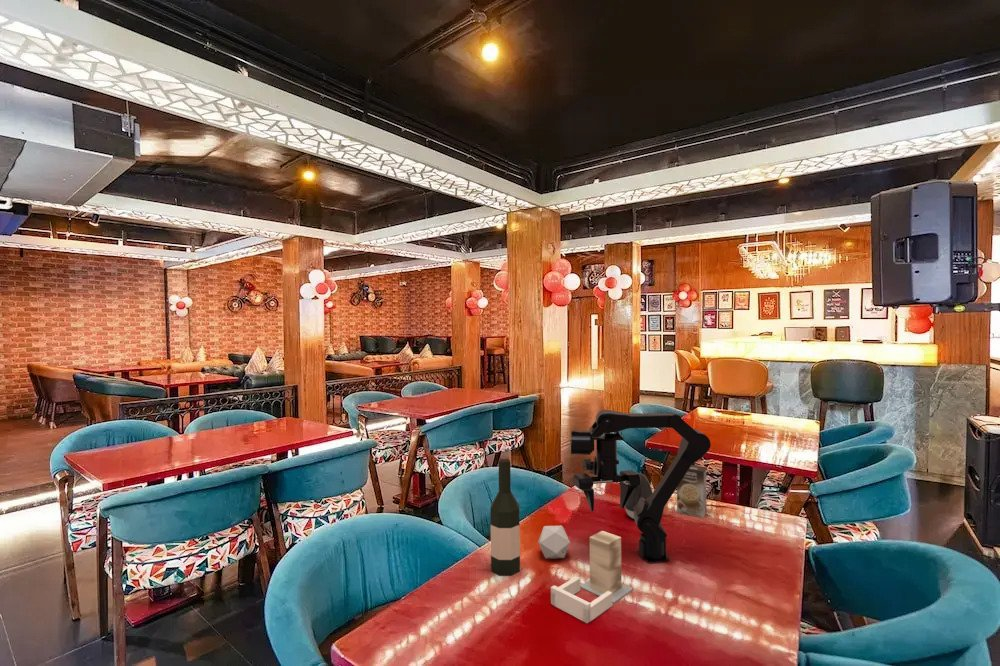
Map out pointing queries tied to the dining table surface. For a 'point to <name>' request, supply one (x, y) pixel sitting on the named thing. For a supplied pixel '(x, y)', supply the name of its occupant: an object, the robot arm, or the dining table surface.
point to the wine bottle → (505, 526)
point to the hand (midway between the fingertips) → (607, 509)
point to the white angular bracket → (579, 601)
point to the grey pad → (615, 595)
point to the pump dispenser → (638, 495)
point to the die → (554, 542)
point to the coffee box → (692, 492)
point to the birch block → (605, 562)
